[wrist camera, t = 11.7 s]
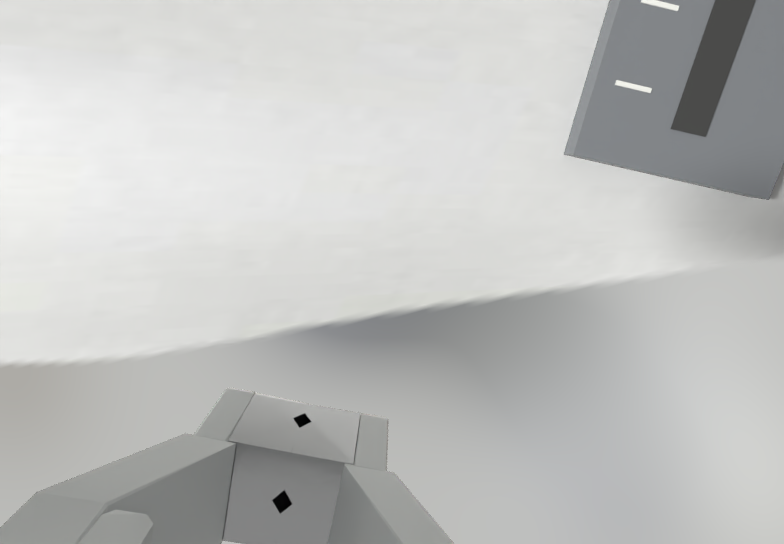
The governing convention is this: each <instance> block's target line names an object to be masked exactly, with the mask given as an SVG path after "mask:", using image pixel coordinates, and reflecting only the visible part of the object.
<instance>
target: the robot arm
mask: <svg viewBox="0 0 784 544" xmlns="http://www.w3.org/2000/svg"><path fill="white" fill-rule="evenodd" d="M387 447H388V418H387V417H384V416H377V415H370V414H364V413H361V415H360V413H359V412H353V411H347V410H341V409H335V408H329V407H323V406H316V405H311V404H308V403H303V402H298V401H294V400H289V399H284V398H280V397H274V396H270V395H266V394H261V393H255V392H253V391H247V390H242V389H236V388H227V389H226V390H225V391H224V392H223V394H222V395H221V396H220V398H219V399H218V401H217V402H216V403H215V405H214V406H213V408H212V409H211V411H210V412H209V413H208V415H207V416H206V418H205V419H204V421H203V422H202V424H201V425H200V426H199V428H198V429H197V431H196V432H195V434H194V435H191V434H183V435H180V436H178V437H175V438H173V439H170V440H168V441H165V442H163V443H160V444H157V445H155V446H152V447H150V448H147V449H145V450H142V451H140V452H137V453H135V454H132V455H130V456H127V457H125V458H122V459H119V460H117V461H114V462H112V463H109V464H107V465H104V466H102V467H99V468H97V469H94V470H92V471H89V472H86V473H84V474H82V475H79V476H76V477H74V478H71V479H69V480H66V481H64V482H61V483H59V484H56V485H54V486H51V487H48V488H46V489H43V490H41V491H39V492H36V493H35V494H34V495H33V496H32V497H31V498H30V499H29V500H28V501H27V502H26V503H25V504H24V505H23V506H22V507H21V508H20V509H19V510H18V511H17V512H16V513H15V514H14V515H12V516H11V517H10V518H9V520H8V521H6V522H5V523H4V524H3V525H2V526H1V527H0V544H221V543H222V541H230V542H236V543H242V544H454V543H453V541H452V540H451V539H450V538H449V537H448V535H447V534H446V533H445V532H444V531H443V530H442V528H441V527H440V526H439V525H438V524H437V522H436V521H435V520H434V519H433V518H432V516H431V515H430V514H429V513H428V512H427V511H426V509H425V508H424V507H423V506H422V505H421V504H420V502H419V501H418V500H417V499H416V498H415V496H414V495H413V494H412V493H411V492H410V491H409V489H408V488H407V487H406V486H405V484H404V483H403V482H402V481H401V480H400V479H399V478H398V476H397V475H396V474H395V473H393V472H388V471H387Z"/></svg>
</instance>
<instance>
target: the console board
mask: <svg viewBox="0 0 784 544" xmlns="http://www.w3.org/2000/svg"><path fill="white" fill-rule="evenodd" d="M564 155H569V156H573V157H577V158H582V159H586V160H591V161H595V162H599V163H604V164H608V165H612V166H617V167H621V168H625V169H630V170H634V171H639V172H643V173H647V174H652V175H656V176H660V177H665V178H669V179H673V180H678V181H682V182H687V183H691V184H695V185H700V186H704V187H708V188H713V189H717V190H721V191H726V192H730V193H735V194H739V195H743V196H748V197H754V198H761V199H767V200H769V198H770V196H771V193H772V191H773V188H774V186H775V183H776V181H777V178H778V176H779V174H780V171H781V169H782V166H783V164H784V0H610V1H609V5H608V8H607V11H606V15H605V18H604V21H603V25H602V28H601V31H600V35H599V38H598V41H597V45H596V48H595V51H594V55H593V58H592V61H591V65H590V68H589V71H588V75H587V78H586V82H585V85H584V88H583V92H582V95H581V98H580V102H579V105H578V108H577V112H576V115H575V118H574V122H573V125H572V128H571V132H570V135H569V138H568V142H567V145H566V148H565V152H564Z"/></svg>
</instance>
